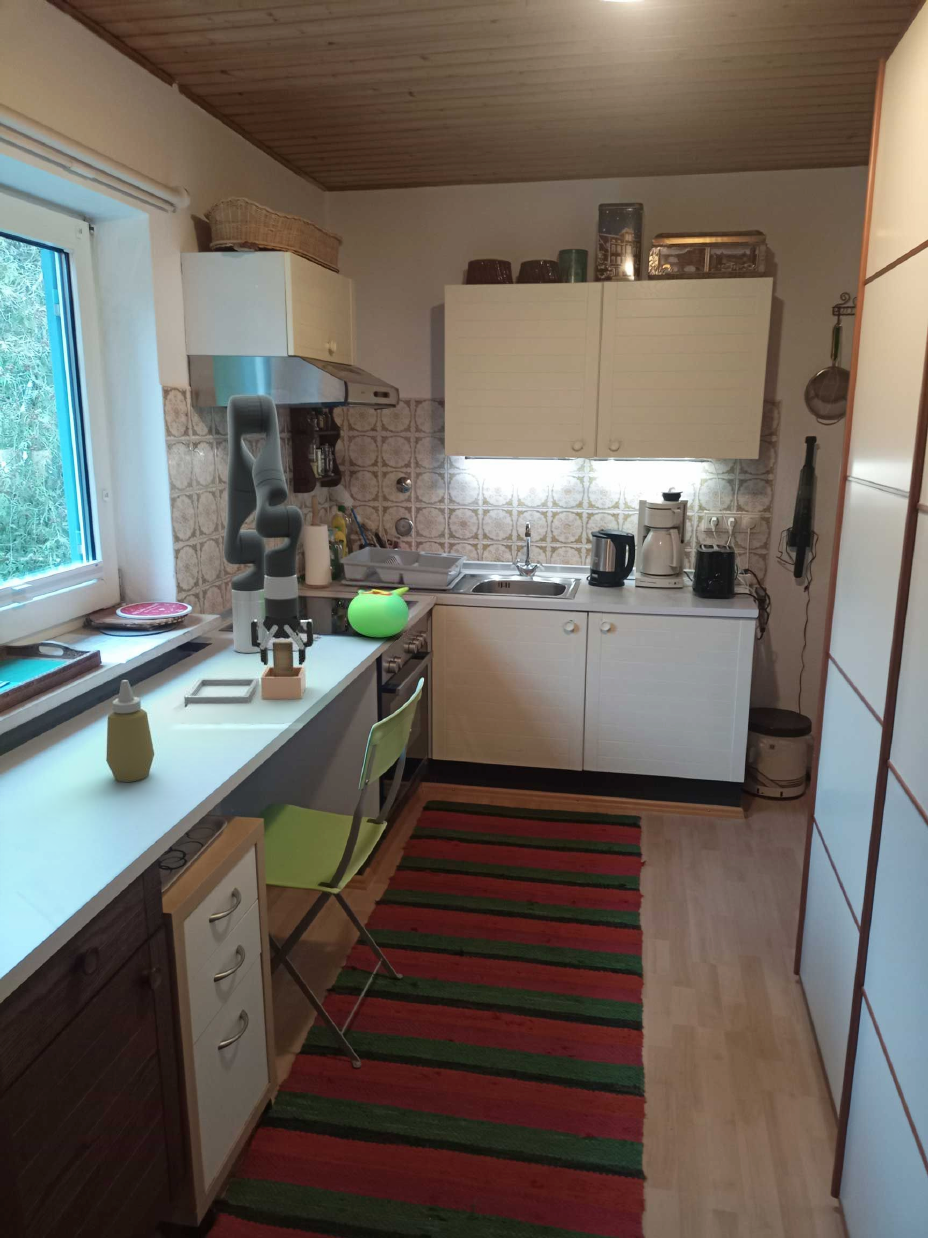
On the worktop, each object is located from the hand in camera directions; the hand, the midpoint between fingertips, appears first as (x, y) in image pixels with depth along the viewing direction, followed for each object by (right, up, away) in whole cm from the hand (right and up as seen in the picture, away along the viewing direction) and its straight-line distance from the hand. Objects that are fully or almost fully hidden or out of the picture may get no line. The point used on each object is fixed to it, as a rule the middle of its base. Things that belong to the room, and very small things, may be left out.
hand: (283, 664), depth 199 cm
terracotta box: (0, -8, +2) cm, 8 cm away
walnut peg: (0, -7, +2) cm, 7 cm away
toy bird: (+16, +5, +59) cm, 61 cm away
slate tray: (-14, -8, +1) cm, 16 cm away
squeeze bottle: (-18, -18, -43) cm, 50 cm away
